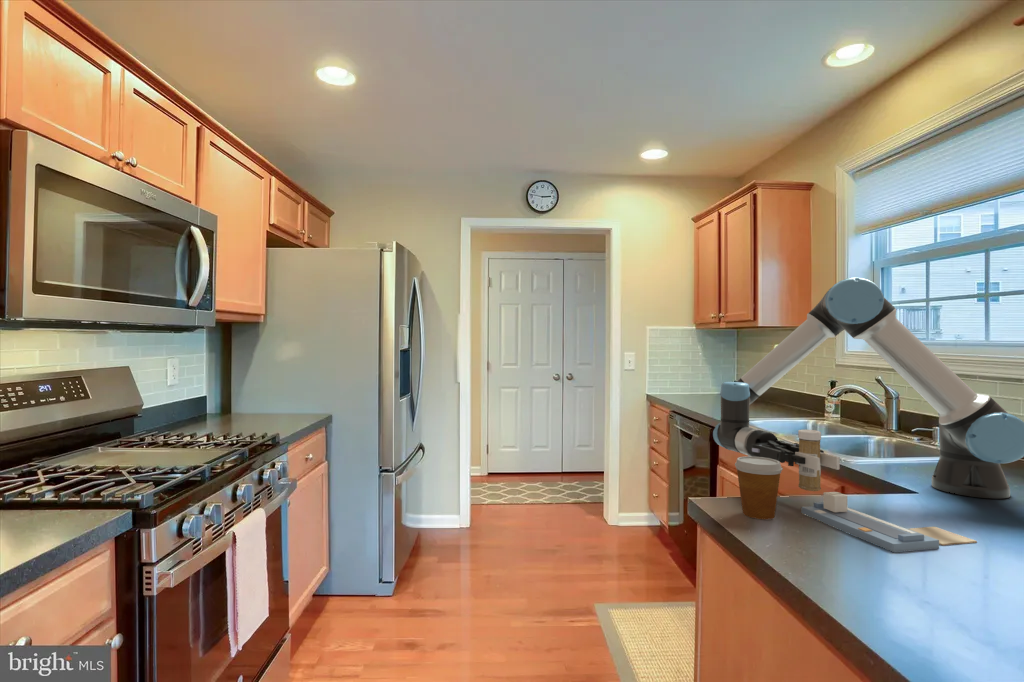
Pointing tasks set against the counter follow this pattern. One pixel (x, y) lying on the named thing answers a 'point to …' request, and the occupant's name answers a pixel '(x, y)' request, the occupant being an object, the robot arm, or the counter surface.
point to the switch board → (872, 529)
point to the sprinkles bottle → (811, 446)
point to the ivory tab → (835, 502)
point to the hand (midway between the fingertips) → (828, 463)
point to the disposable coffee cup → (758, 485)
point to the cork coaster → (943, 536)
